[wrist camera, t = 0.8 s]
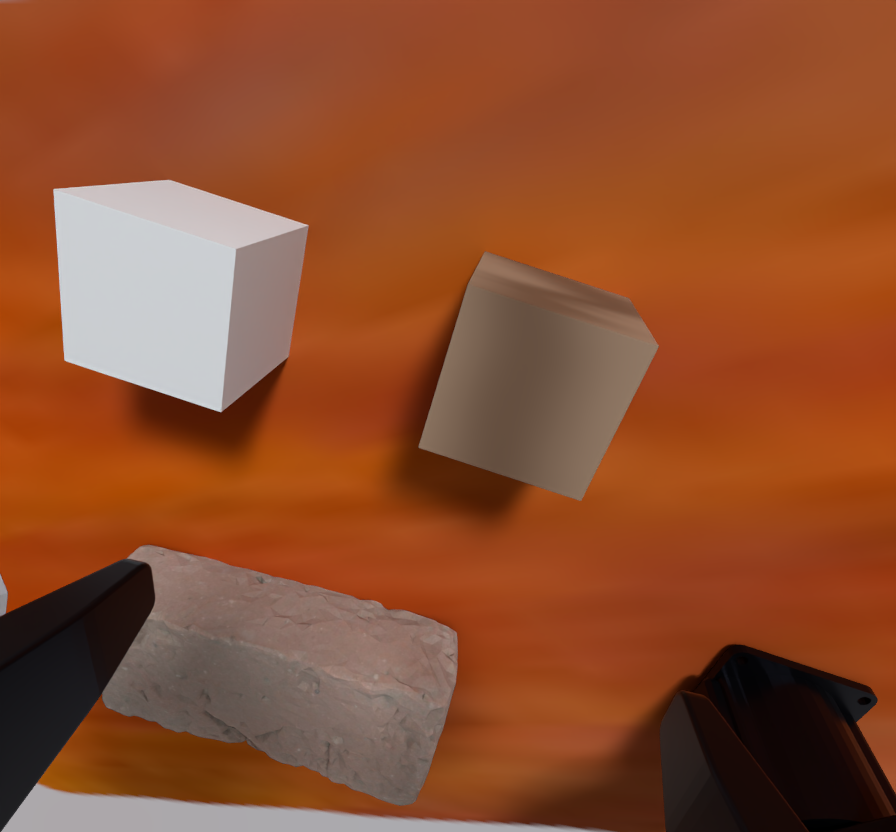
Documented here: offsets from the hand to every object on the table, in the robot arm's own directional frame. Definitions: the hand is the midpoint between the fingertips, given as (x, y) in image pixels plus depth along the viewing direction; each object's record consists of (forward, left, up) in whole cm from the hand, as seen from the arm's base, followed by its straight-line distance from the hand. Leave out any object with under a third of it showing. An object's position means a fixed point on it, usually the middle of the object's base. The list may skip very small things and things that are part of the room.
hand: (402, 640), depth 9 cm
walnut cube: (-1, -2, -12) cm, 12 cm away
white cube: (+10, -1, -12) cm, 15 cm away
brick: (+5, +17, -13) cm, 22 cm away
